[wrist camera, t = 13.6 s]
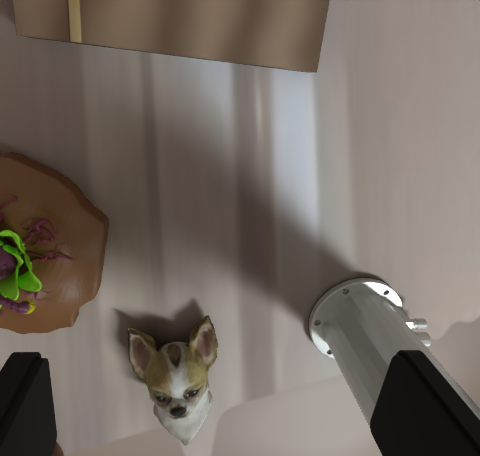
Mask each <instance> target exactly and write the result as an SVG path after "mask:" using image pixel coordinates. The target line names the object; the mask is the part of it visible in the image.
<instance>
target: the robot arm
mask: <svg viewBox="0 0 480 456" xmlns="http://www.w3.org/2000/svg"><path fill="white" fill-rule="evenodd" d="M426 328H427V322H426V320H425V319H409V318H408V317H407V316H406V315H405V314H404V312H403V306H402V303H401V300H400V298H399V296H398V294H397V293H396V292H395V291H394V290H393V289H392V288H391V287H390V286H389V285H387V284H386V283H384V282H382V281H380V280H376V279H372V278H358V279H352V280H348V281H345V282H343V283H340V284H338V285H336V286H334V287H333V288H332V289H330V290H329V291H327V292H326V293H325V294H324V295H323V296H322V297H321V298H320V299H319V300H318V302H317V303H316V304H315V306H314V308H313V310H312V312H311V315H310V319H309V333H310V336H311V339H312V341H313V343H314V344H315V346H316V348H317V349H318V350H319V351H320V352H321V353H323V354H324V355H326V356H328V357H331V358H334V359H335V360H336V362H337V364H338V366H339V368H340V370H341V372H342V374H343V376H344V377H345V379H346V381H347V383H348V385H349V387H350V389H351V391H352V393H353V395H354V397H355V399H356V401H357V403H358V405H359V407H360V409H361V411H362V413H363V415H364V417H365V419H366V421H367V423H368V424H369V426H370V429H371V433H372V435H373V437H374V439H375V441H376V443H377V445H378V447H379V449H380V451H381V453H382V455H383V456H480V408H479V407H478V406H477V404H476V403H475V402H474V401H473V400H472V399H471V398H470V396H469V395H468V394H467V393H466V392H465V391H464V390H463V389H462V387H461V386H460V385H459V384H458V383H457V382H456V381H455V379H454V378H453V377H452V376H451V375H450V373H449V372H448V371H447V370H446V369H445V368H444V367H443V366H442V364H441V363H440V362H439V361H438V360H437V358H436V357H435V356H434V355H433V354H432V353H431V352H430V350H429V349H428V348H427V347H429V346H430V344H431V338H430V336H429V334H428V333H426V332H413V331H412V329H426ZM56 439H57V430H56V421H55V413H54V404H53V396H52V387H51V378H50V370H49V362H48V359H47V358H41V354H40V353H39V352H14V353H12V354H11V355H10V357H9V358H8V360H7V361H6V363H5V364H4V366H3V368H2V369H1V371H0V456H52V455H53V452H54V449H55V445H56Z"/></svg>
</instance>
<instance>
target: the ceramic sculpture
mask: <svg viewBox="0 0 480 456" xmlns="http://www.w3.org/2000/svg"><path fill="white" fill-rule="evenodd" d="M128 336H129V337H128V346H129V361H130V363H131V364H132V367H133V371H134V372H135V373H136V374H137V375H138V376H139V377H141V378H143V379H144V380H145V381H146V383H147V387H148V390H149V394H150V398H151V400H152V401H153V402H154V403H155V404H154V414H155V415H156V416H157V417H158V419H159V421H160V423H161V425H162V426H163V427H164V428H165V429H166V430H167V431H168V432H169V433H170V434H171V435H173V436H174V437H176V438H178V439H179V440H180V441H181V442H182V443H183V444H184V445H185V446H187V445H188V444H189V443H190V441H191V440H192V438H193V437H194V435H195V434H196V433H197V431H198V430H199V428H200V427H201V425H202V424H203V422H204V420H205V419H206V417H207V415H208V412H209V409H210V407H211V406H212V404H213V398H212V395H211V393H210V391H209V383H208V371H209V368H210V367H211V366H212V365H213V364H214V362H215V360H216V358H217V347H218V343H217V339H216V334H215V330H214V327H213V324H212V323H211V320H210V318H209V316H208V315H207V316H205V317H204V318H203V320H202V321H201V322H199V323H198V324H197V325H196V326H195V327H194V328H193V329H192V330H191V332H190V342H189V344H188V343H186V342H171V343H168V344H166V345H164V346H163V347H161V348H160V350H159V351H157V349H156V342H155V340H154V338H153V337H151V336H149V335H147V334H145V333H143V332H141V331H138V330H136V329H134V328H132V327H130V328H128Z"/></svg>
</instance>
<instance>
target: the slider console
mask: <svg viewBox="0 0 480 456" xmlns="http://www.w3.org/2000/svg"><path fill="white" fill-rule="evenodd" d="M328 6H329V0H13V7H14V16H15V25H16V34H17V35H21V36H25V37H30V38H38V39H46V40H54V41H62V42H70V43H78V44H86V45H94V46H102V47H109V48H117V49H125V50H133V51H141V52H149V53H157V54H165V55H173V56H181V57H189V58H197V59H205V60H213V61H221V62H229V63H237V64H245V65H253V66H261V67H269V68H277V69H285V70H293V71H301V72H317V68H318V62H319V57H320V51H321V45H322V40H323V34H324V28H325V23H326V17H327V11H328Z"/></svg>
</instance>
